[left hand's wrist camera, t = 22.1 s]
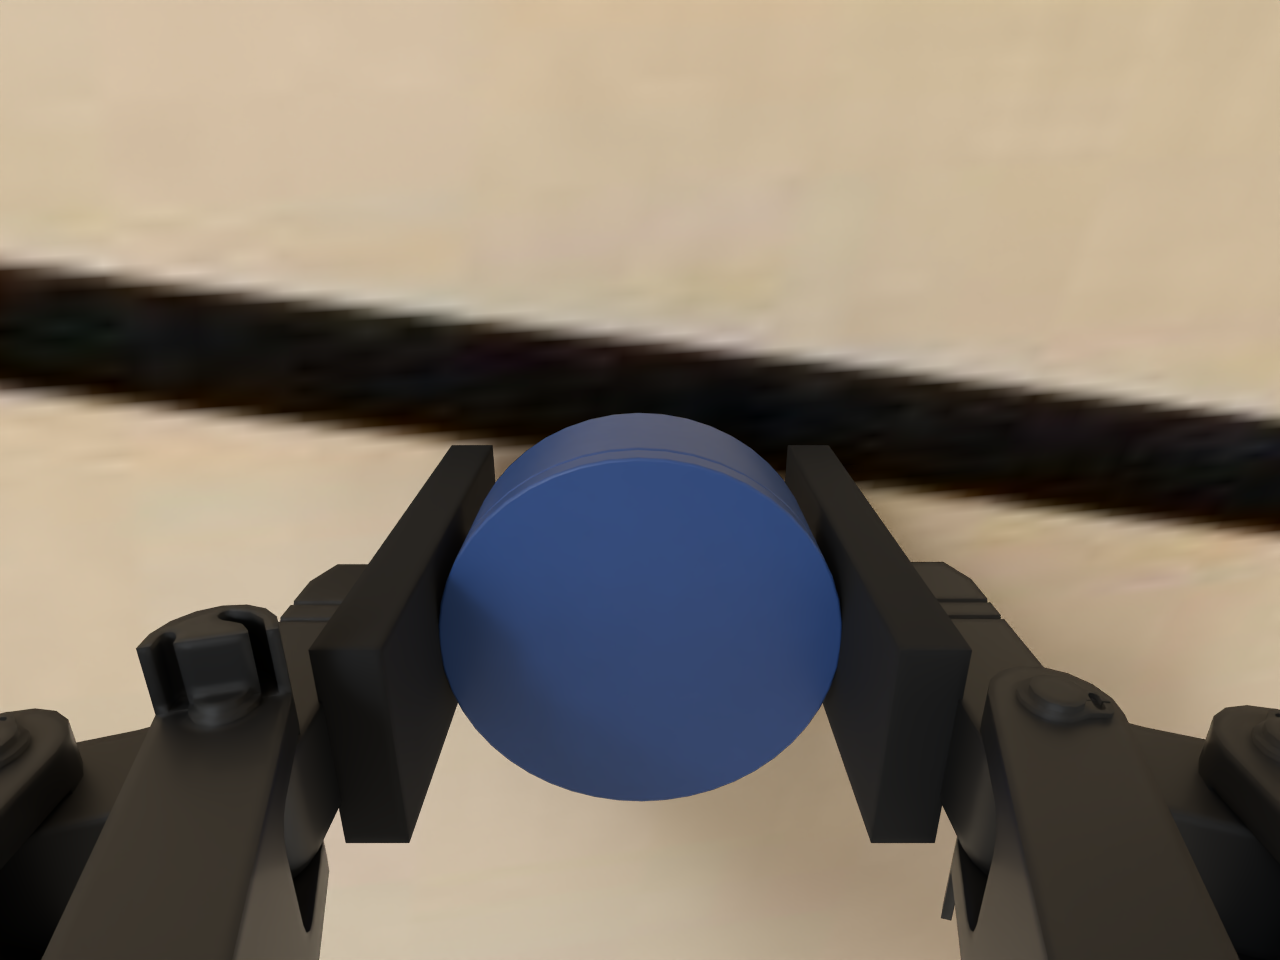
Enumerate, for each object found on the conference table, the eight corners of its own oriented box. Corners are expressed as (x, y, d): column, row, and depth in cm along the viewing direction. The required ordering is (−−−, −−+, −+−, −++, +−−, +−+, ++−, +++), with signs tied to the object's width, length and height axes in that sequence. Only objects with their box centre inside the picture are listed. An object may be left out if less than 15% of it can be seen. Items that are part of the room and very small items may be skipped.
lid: (398, 578, 12) (355, 650, 10) (636, 334, 11) (635, 367, 9) (642, 767, 14) (643, 858, 12) (882, 574, 12) (926, 645, 10)
